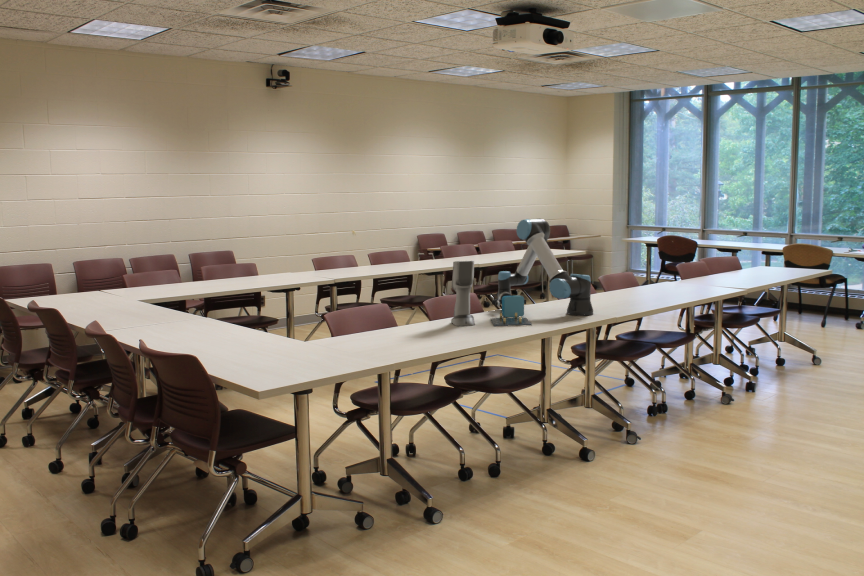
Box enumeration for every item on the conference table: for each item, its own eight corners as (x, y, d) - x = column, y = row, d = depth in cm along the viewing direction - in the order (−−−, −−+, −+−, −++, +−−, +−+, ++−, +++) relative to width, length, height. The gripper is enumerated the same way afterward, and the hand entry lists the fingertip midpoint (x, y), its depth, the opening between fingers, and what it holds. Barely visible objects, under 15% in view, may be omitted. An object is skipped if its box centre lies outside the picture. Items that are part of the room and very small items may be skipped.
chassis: (526, 319, 408) (526, 312, 408) (531, 325, 390) (531, 318, 389) (490, 320, 408) (490, 313, 407) (494, 326, 389) (494, 318, 388)
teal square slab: (521, 315, 421) (521, 295, 420) (524, 316, 417) (524, 296, 416) (501, 316, 418) (501, 296, 417) (504, 318, 414) (504, 297, 412)
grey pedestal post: (455, 326, 389) (454, 261, 385) (450, 322, 402) (449, 259, 397) (476, 325, 391) (476, 260, 387) (470, 321, 404) (470, 258, 399)
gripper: (526, 304, 444) (532, 310, 423) (485, 305, 444) (489, 310, 423) (526, 292, 443) (532, 297, 422) (485, 293, 443) (489, 298, 422)
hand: (510, 304), depth 422 cm, fingers open, 13 cm apart
